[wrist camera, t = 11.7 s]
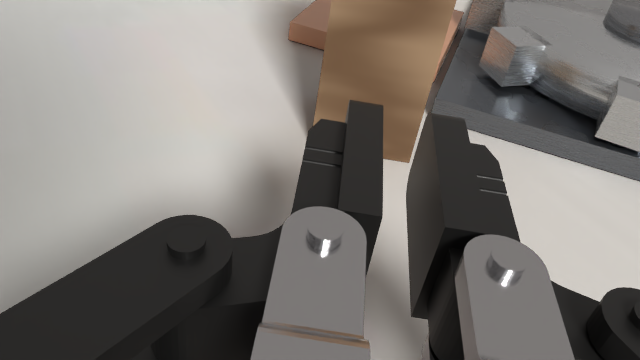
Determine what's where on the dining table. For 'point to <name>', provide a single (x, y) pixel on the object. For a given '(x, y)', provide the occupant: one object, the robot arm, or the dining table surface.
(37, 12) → the dining table surface
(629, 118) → the sprocket
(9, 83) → the dining table surface
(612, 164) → the sprocket base
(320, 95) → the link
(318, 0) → the salmon brown square slab
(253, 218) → the dining table surface
